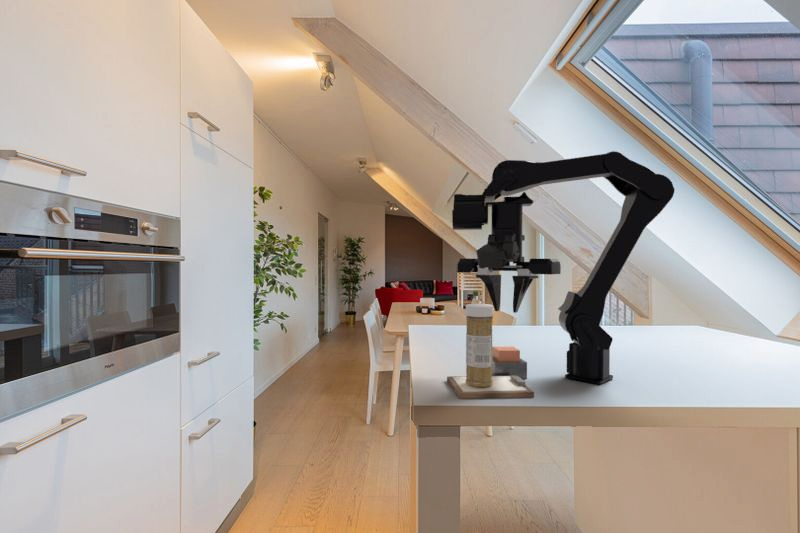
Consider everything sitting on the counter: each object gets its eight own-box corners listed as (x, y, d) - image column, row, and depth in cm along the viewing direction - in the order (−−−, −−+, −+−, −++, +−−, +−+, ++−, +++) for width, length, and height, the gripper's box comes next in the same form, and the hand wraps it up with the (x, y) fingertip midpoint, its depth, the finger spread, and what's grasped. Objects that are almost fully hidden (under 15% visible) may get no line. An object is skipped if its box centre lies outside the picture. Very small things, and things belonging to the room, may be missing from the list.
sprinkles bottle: (493, 381, 77) (493, 303, 76) (492, 389, 72) (492, 305, 72) (466, 380, 78) (466, 302, 78) (463, 387, 73) (464, 305, 73)
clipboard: (512, 379, 81) (512, 371, 81) (533, 397, 71) (534, 387, 71) (447, 380, 80) (447, 372, 80) (459, 398, 70) (459, 388, 70)
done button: (512, 361, 87) (512, 346, 87) (519, 366, 83) (519, 350, 83) (492, 362, 87) (492, 346, 87) (498, 366, 83) (498, 350, 83)
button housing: (515, 370, 88) (516, 355, 88) (526, 378, 82) (527, 362, 82) (486, 371, 88) (486, 355, 88) (495, 379, 82) (495, 362, 82)
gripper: (442, 228, 84) (441, 312, 84) (541, 224, 73) (540, 320, 73) (470, 232, 93) (469, 307, 93) (561, 228, 82) (561, 313, 82)
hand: (506, 311), depth 85 cm, fingers open, 3 cm apart
